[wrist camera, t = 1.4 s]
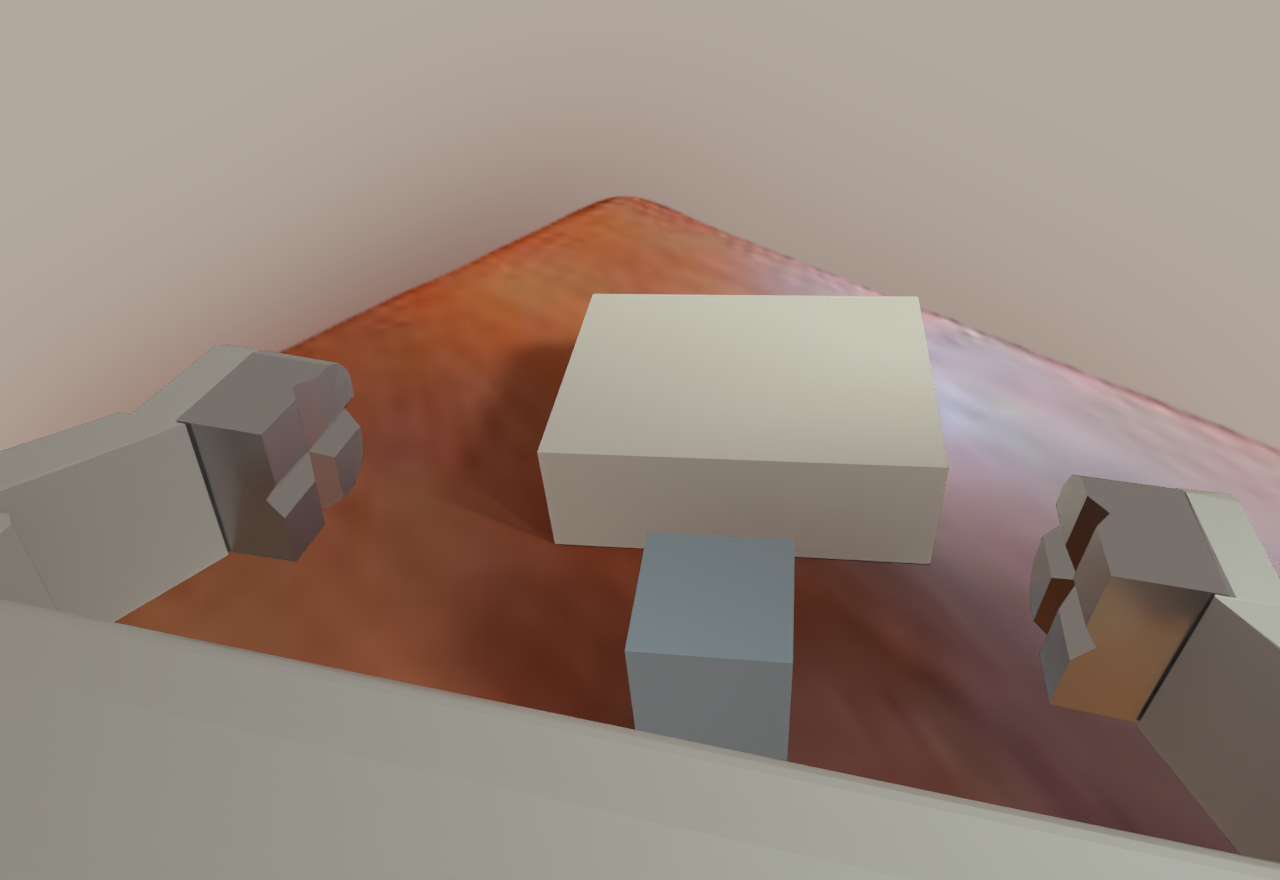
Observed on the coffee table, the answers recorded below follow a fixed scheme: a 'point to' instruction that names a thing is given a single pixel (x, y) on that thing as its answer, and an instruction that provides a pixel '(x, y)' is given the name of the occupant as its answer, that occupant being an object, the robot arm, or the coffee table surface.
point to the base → (749, 425)
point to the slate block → (714, 641)
